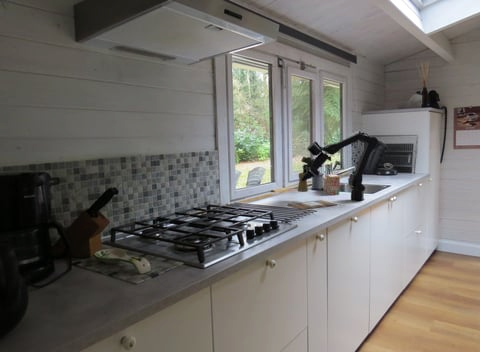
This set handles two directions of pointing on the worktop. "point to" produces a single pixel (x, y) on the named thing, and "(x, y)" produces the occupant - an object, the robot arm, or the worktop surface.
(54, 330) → the worktop surface
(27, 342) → the worktop surface
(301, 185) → the pepper mill
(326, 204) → the baseplate
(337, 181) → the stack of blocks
